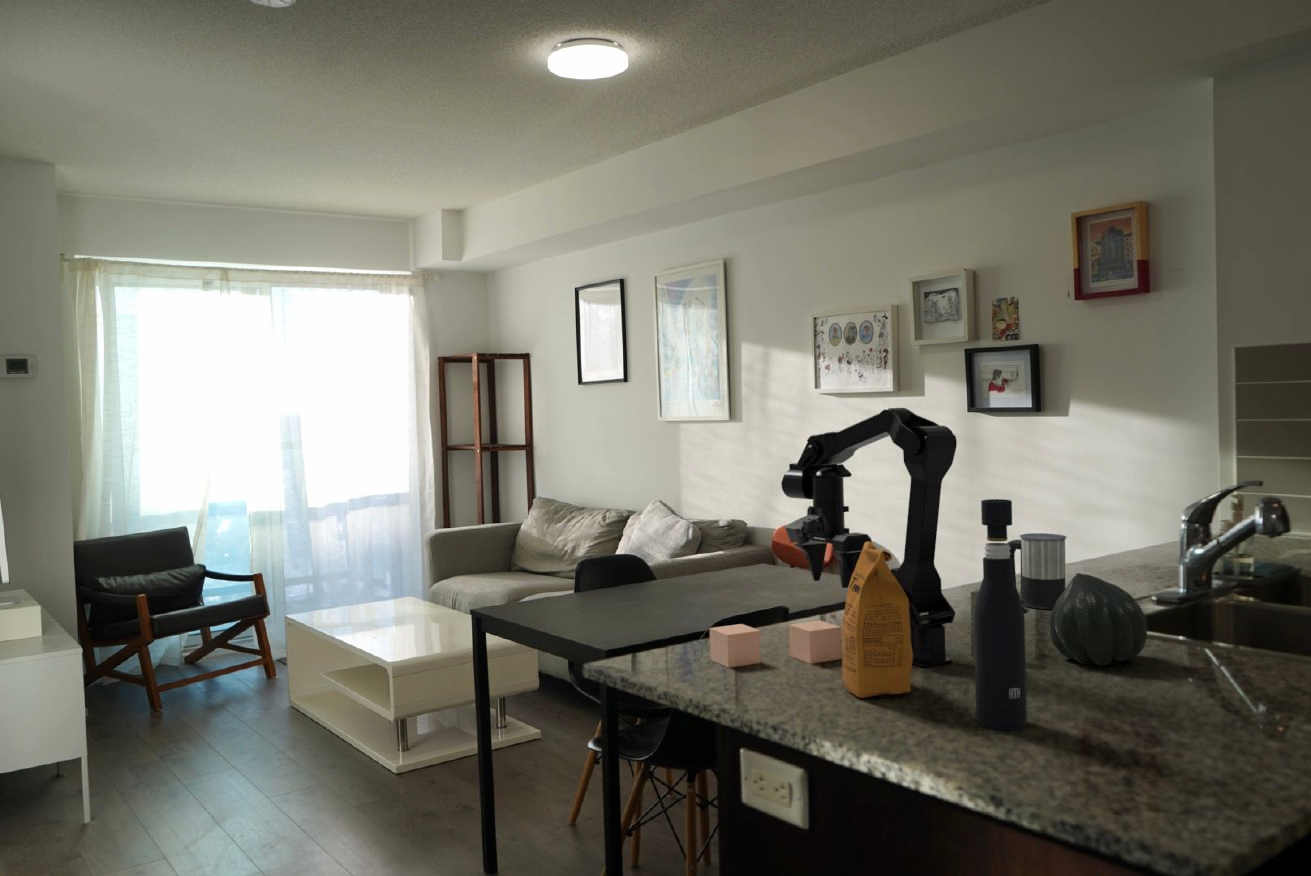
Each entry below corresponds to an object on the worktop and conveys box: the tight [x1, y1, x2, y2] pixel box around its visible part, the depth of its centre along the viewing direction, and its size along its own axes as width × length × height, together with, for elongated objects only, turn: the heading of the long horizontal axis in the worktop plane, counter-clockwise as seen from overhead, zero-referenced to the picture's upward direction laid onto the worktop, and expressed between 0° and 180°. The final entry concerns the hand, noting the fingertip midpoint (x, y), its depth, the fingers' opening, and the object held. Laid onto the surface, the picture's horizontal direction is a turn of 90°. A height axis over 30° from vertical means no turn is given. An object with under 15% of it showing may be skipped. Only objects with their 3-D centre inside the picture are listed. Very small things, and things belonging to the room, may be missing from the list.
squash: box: [1048, 572, 1148, 667], centre depth 167 cm, size 14×15×15 cm
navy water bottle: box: [973, 498, 1028, 731], centre depth 135 cm, size 6×6×30 cm
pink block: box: [709, 623, 762, 669], centre depth 173 cm, size 6×6×6 cm
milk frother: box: [1006, 532, 1068, 610], centre depth 210 cm, size 14×16×15 cm
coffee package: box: [841, 541, 913, 699], centre depth 153 cm, size 10×12×22 cm
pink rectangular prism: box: [788, 619, 842, 665], centre depth 174 cm, size 6×6×6 cm
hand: (830, 584), depth 188 cm, fingers open, 9 cm apart
